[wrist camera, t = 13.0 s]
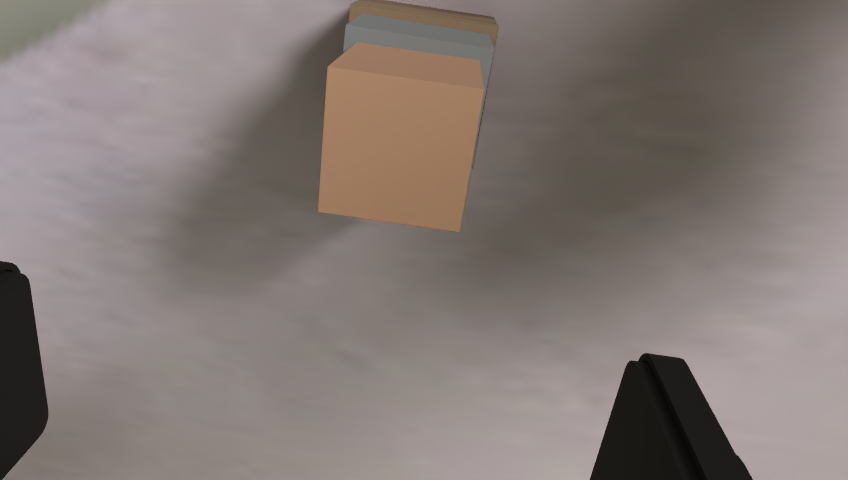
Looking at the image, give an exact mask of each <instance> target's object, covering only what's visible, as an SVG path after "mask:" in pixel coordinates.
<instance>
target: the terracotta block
mask: <svg viewBox="0 0 848 480" xmlns="http://www.w3.org/2000/svg"><path fill="white" fill-rule="evenodd" d="M483 92H484V86H483V79H482V72H481V65H480V60H475V59H469V58H462V57H455V56H448V55H441V54H434V53H427V52H420V51H413V50H406V49H399V48H392V47H386V46H379V45H372V44H365V43H358V42H356V43H355V44H354V45H353V46H352V47H350V48H349V49H348V50H347V51H346V52H344V53H343V54H342V55H341V56H340V57H338V58H337V59H336V60H335V61H334V62H332V63H331V64H330V65H329V66H328V67H327V82H326V97H325V112H324V127H323V142H322V157H321V171H320V186H319V201H318V212H322V213H329V214H336V215H343V216H350V217H357V218H364V219H371V220H378V221H384V222H391V223H398V224H405V225H412V226H419V227H426V228H433V229H440V230H447V231H454V232H460V228H461V222H462V216H463V210H464V204H465V198H466V192H467V186H468V181H469V175H470V169H471V163H472V157H473V151H474V145H475V139H476V134H477V128H478V122H479V116H480V110H481V104H482V98H483Z"/></svg>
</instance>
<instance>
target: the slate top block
mask: <svg viewBox="0 0 848 480" xmlns="http://www.w3.org/2000/svg"><path fill="white" fill-rule="evenodd" d="M356 42H358V43H365V44H372V45H379V46H386V47H392V48H399V49H406V50H413V51H420V52H427V53H434V54H441V55H448V56H455V57H462V58H469V59H475V60H480V65H481V72H482V79H483V86H484V92H483V98H482V104H481V110H480V116H479V122H478V128H477V134H476V139H475V145H474V151H473V157H472V163H473V158H474V153H475V147H476V142H477V137H478V132H479V126H480V121H481V116H482V111H483V106H484V100H485V95H486V90H487V85H488V80H489V74H490V69H491V64H492V59H493V54H494V47H493V44H492V41H491V37H490V35H489V34H483V33H477V32H471V31H465V30H459V29H453V28H447V27H441V26H435V25H429V24H423V23H417V22H411V21H405V20H399V19H393V18H387V17H381V16H375V15H369V14H362V15H360V16H359V17H357V18H356V19H354V20H352V21H351V22H349V23H347V24H346V26H345V36H344V47H343V53H344V52H346V51H347V50H348V49H349V48H350V47H352V46H353V45H354V44H355V43H356ZM472 163H471V168H472ZM470 173H471V169H470ZM469 179H470V175H469ZM468 184H469V181H468ZM467 189H468V186H467Z"/></svg>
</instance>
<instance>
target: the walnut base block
mask: <svg viewBox="0 0 848 480" xmlns="http://www.w3.org/2000/svg"><path fill="white" fill-rule="evenodd" d="M362 14H369V15H375V16H381V17H387V18H393V19H399V20H405V21H411V22H417V23H423V24H429V25H435V26H441V27H447V28H453V29H459V30H465V31H471V32H477V33H483V34H489V35H490V37H491V41H492V44H493V47H494V49H495V43H496V38H497V32H498V25H497V23H496V21H495V19H494V17H488V16H482V15H475V14H469V13H463V12H456V11H450V10H443V9H437V8H431V7H424V6H418V5H411V4H405V3H398V2H392V1H386V0H358V1H356V2H354V3H352V4H350V13H349V22H351V21H352V20H354V19H356V18H357V17H359V16H360V15H362ZM492 60H493V59H492ZM491 65H492V64H491ZM490 71H491V69H490ZM489 76H490V74H489ZM488 82H489V80H488ZM487 87H488V85H487ZM486 93H487V90H486ZM485 98H486V95H485ZM484 104H485V100H484ZM483 109H484V106H483ZM482 114H483V111H482ZM481 120H482V116H481ZM480 125H481V121H480ZM479 131H480V126H479ZM478 136H479V132H478ZM477 142H478V137H477ZM477 142H476V147H477ZM476 147H475V153H476ZM475 153H474V158H475ZM474 158H473V163H472V169H473V164H474Z"/></svg>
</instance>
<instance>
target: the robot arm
mask: <svg viewBox="0 0 848 480" xmlns="http://www.w3.org/2000/svg"><path fill="white" fill-rule="evenodd" d="M47 420H48V405H47V398H46V391H45V385H44V378H43V371H42V364H41V357H40V350H39V343H38V336H37V330H36V323H35V316H34V309H33V302H32V295H31V288H30V283H29V279H28V278H27V277H26V276H25V275H24V274H21V273H20V270H19V269H18V267H17V266H16V265H14V264H13V263H9V262H2V261H0V480H2V479H3V478H4V477H5V476H6V474H7V473H8V472H9V471H10V470H11V469H12V468H13V466H14V465H15V464H16V463H17V462H18V461H19V460H20V458H21V457H22V456H23V455H24V454H25V453H26V452H27V450H28V449H29V448H30V447H31V446H32V445H33V444H34V442H35V441H36V440H37V439H38V438H39V437H40V435H41V434H42V433H43V431H44V429H45V427H46V424H47ZM590 480H753V479H752V477H751V476H750V474H749V472H748V470H747V468H746V466H745V465H744V463H743V462H742V461H741V459H740V458H739V456H737V455H736V454H735V452H734V450H733V449H732V447H731V445H730V443H729V441H728V439H727V437H726V436H725V434H724V432H723V430H722V428H721V426H720V424H719V423H718V421H717V419H716V417H715V415H714V413H713V412H712V410H711V408H710V406H709V404H708V402H707V400H706V399H705V397H704V395H703V393H702V391H701V389H700V388H699V386H698V384H697V382H696V380H695V378H694V376H693V375H692V373H691V371H690V369H689V367H688V365H687V364H686V362H685V361H684V360H683V359H681V358H676V357H669V356H662V355H655V354H648V353H645V354H643V355H642V356H641V357H640V358H639V361H629V362H628V364H627V366H626V368H625V371H624V374H623V377H622V380H621V383H620V387H619V390H618V393H617V396H616V399H615V402H614V405H613V409H612V412H611V415H610V418H609V421H608V424H607V427H606V431H605V434H604V437H603V440H602V443H601V446H600V449H599V453H598V456H597V459H596V462H595V465H594V468H593V471H592V475H591V478H590Z"/></svg>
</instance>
